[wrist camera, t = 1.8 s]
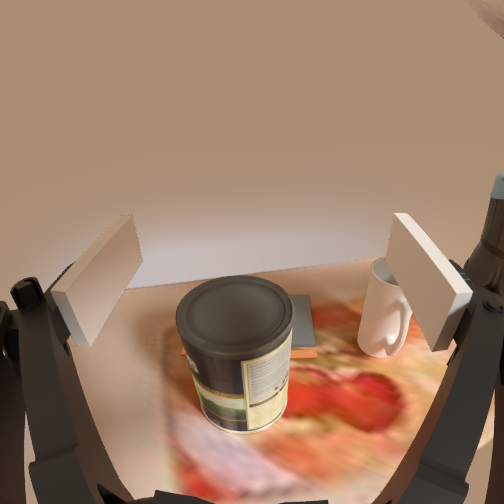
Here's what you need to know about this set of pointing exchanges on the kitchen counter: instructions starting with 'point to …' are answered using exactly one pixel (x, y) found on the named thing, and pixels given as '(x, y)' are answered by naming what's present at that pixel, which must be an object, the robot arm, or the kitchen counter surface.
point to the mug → (383, 313)
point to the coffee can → (238, 350)
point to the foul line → (293, 354)
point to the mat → (302, 322)
